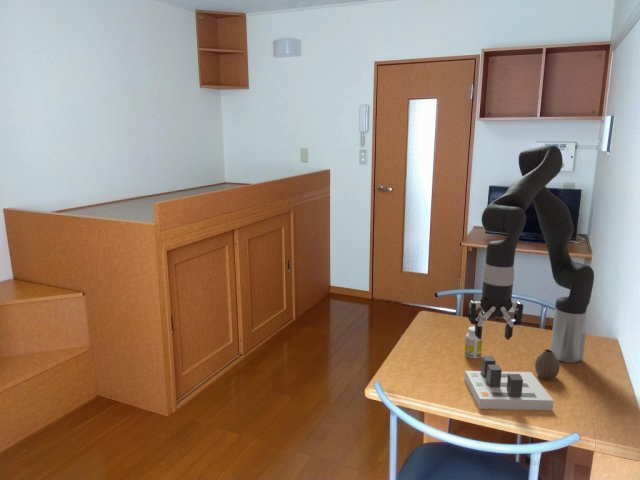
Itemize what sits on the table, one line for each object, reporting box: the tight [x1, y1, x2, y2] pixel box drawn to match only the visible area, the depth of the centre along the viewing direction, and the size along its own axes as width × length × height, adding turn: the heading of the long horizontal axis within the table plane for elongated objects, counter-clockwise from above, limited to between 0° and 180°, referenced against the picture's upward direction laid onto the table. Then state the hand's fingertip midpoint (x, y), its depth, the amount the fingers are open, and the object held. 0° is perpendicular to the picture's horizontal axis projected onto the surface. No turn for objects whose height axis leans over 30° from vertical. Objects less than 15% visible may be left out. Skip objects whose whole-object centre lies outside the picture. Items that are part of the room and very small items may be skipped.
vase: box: [534, 348, 560, 381], centre depth 151 cm, size 7×7×9 cm
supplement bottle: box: [464, 325, 483, 359], centre depth 166 cm, size 5×5×10 cm
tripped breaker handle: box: [507, 374, 523, 396], centre depth 136 cm, size 3×3×5 cm
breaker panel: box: [464, 355, 555, 411], centre depth 141 cm, size 20×16×8 cm
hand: (492, 338), depth 133 cm, fingers open, 7 cm apart
